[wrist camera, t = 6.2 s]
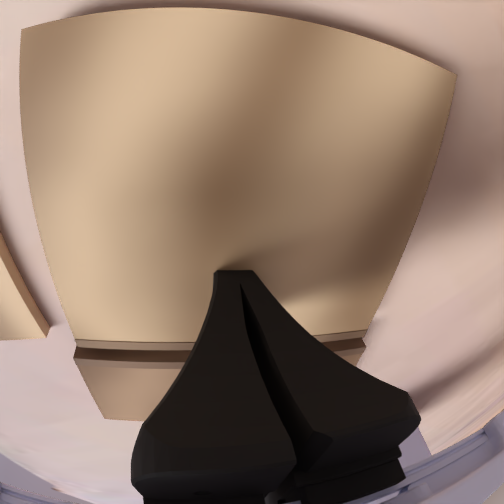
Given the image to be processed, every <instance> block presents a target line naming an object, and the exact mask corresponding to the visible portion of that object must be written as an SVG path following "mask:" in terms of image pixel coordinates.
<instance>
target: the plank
mask: <svg viewBox="0 0 504 504" xmlns="http://www.w3.org/2000/svg"><path fill="white" fill-rule="evenodd" d="M49 329H50V327H49V325H48V323H47V322H46V320H45V318H44V317H43V315H42V313H41V312H40V310H39V308H38V307H37V305H36V303H35V301H34V300H33V298H32V296H31V294H30V292H29V290H28V289H27V287H26V285H25V283H24V281H23V279H22V277H21V275H20V273H19V271H18V269H17V267H16V265H15V263H14V261H13V259H12V257H11V255H10V252H9V250H8V248H7V246H6V243H5V241H4V239H3V237H2V234H1V232H0V341H1V340H21V339H37V338H46V337H47V335H48V332H49Z"/></svg>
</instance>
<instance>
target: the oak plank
mask: <svg viewBox="0 0 504 504" xmlns="http://www.w3.org/2000/svg"><path fill="white" fill-rule="evenodd" d="M456 79H457V75H456V74H454V73H452V72H450V71H448V70H446V69H444V68H442V67H440V66H438V65H436V64H433V63H431V62H429V61H427V60H425V59H422V58H420V57H418V56H415V55H413V54H410V53H408V52H405V51H403V50H400V49H398V48H395V47H393V46H390V45H387V44H384V43H382V42H379V41H376V40H373V39H370V38H367V37H364V36H360V35H357V34H354V33H351V32H347V31H344V30H340V29H336V28H333V27H329V26H325V25H321V24H316V23H312V22H307V21H303V20H298V19H293V18H287V17H282V16H276V15H269V14H263V13H255V12H247V11H238V10H227V9H212V8H143V9H129V10H118V11H109V12H102V13H94V14H88V15H82V16H76V17H71V18H66V19H61V20H56V21H52V22H47V23H43V24H39V25H36V26H32V27H28V28H25V29H22V31H21V44H20V75H19V80H20V112H21V126H22V137H23V146H24V155H25V162H26V169H27V175H28V182H29V187H30V193H31V198H32V203H33V208H34V212H35V217H36V221H37V226H38V230H39V234H40V238H41V241H42V245H43V249H44V252H45V256H46V259H47V263H48V266H49V269H50V273H51V276H52V279H53V282H54V285H55V288H56V291H57V294H58V297H59V300H60V302H61V305H62V308H63V310H64V313H65V316H66V318H67V321H68V323H69V326H70V328H71V331H72V333H73V336H74V338H75V342H76V344H77V346H78V347H85V348H101V349H123V350H192V348H193V346H194V344H195V342H196V340H197V338H198V335H199V333H200V330H201V328H202V325H203V322H204V320H205V317H206V314H207V311H208V308H209V304H210V300H211V297H212V292H213V273H214V272H215V271H217V270H253V271H254V272H255V273H256V274H257V276H258V277H259V278H260V280H261V281H262V282H263V283H264V285H265V286H266V287H267V288H268V290H269V291H270V292H271V293H272V295H273V296H274V297H275V298H276V299H277V300H278V302H279V303H280V304H281V305H282V306H283V307H284V308H285V309H286V311H287V312H288V313H289V314H290V315H291V316H292V317H293V318H294V319H295V320H296V321H297V322H298V323H299V324H300V325H301V326H302V327H303V328H304V329H305V330H306V331H308V332H309V333H310V334H311V335H312V336H313V337H315V338H316V339H317V340H318V341H320V342H328V341H337V340H345V339H352V338H360V337H364V336H365V334H366V332H367V329H368V327H369V325H370V323H371V321H372V319H373V317H374V315H375V313H376V311H377V309H378V307H379V305H380V303H381V301H382V299H383V297H384V295H385V292H386V290H387V288H388V286H389V284H390V282H391V280H392V277H393V275H394V273H395V271H396V268H397V266H398V264H399V261H400V259H401V257H402V254H403V252H404V250H405V247H406V245H407V242H408V240H409V237H410V235H411V232H412V230H413V227H414V225H415V222H416V219H417V217H418V214H419V211H420V208H421V206H422V203H423V200H424V197H425V194H426V191H427V188H428V185H429V182H430V179H431V176H432V173H433V170H434V167H435V163H436V160H437V157H438V153H439V150H440V146H441V143H442V139H443V135H444V132H445V128H446V124H447V120H448V116H449V112H450V107H451V103H452V98H453V94H454V89H455V84H456Z"/></svg>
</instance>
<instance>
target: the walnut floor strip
mask: <svg viewBox="0 0 504 504" xmlns="http://www.w3.org/2000/svg"><path fill="white" fill-rule="evenodd" d="M321 343H322V344H323V345H324V346H326V347H327V348H328V349H330V350H331V351H333V352H334V353H335V354H337V355H338V356H340V357H341V358H343V359H344V360H346V361H347V362H349V363H350V364H352V365H354V366H356V364H357V362H358V361H359V359H360V357H361V355H362V353H363V352H364V350H365V349H366V346H365V344H364V342H363V340H362V338H361V337H360V338H352V339H345V340H337V341H328V342H321ZM190 352H191V350H123V349H101V348H85V347H78V346H76V350H75V354H74V357H73V359H74V361H75V363H76V365H77V366H78V369H79V371H80V373H81V375H82V377H83V379H84V381H85V383H86V385H87V387H88V389H89V391H90V393H91V395H92V397H93V399H94V400H95V402H96V404H97V406H98V408H99V410H100V411H101V413H102V415H103V417H104V418H105V419H113V420H128V421H145V420H146V419H147V418H148V416H149V415H150V414H151V413H152V411H153V410H154V409H155V408H156V406H157V405H158V404H159V402H160V401H161V400H162V398H163V397H164V396H165V394H166V393H167V391H168V389H169V388H170V386H171V385H172V383H173V382H174V380H175V379H176V377H177V376H178V374H179V372H180V371H181V369H182V367H183V366H184V364H185V362H186V360H187V358H188V356H189V354H190Z"/></svg>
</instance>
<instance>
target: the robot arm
mask: <svg viewBox="0 0 504 504" xmlns="http://www.w3.org/2000/svg"><path fill="white" fill-rule="evenodd" d="M420 421H421V417H420V415H419V413H418V411H417V409H416V407H415V405H414V403H413V401H412V399H411V398H410V396H409V394H408V393H407V392H406V391H404V390H401V389H399V388H397V387H395V386H392V385H390V384H388V383H386V382H383V381H381V380H379V379H377V378H375V377H373V376H371V375H370V374H368V373H366V372H364V371H362V370H360V369H359V368H357V367H355V366H354V365H352V364H350V363H349V362H347V361H346V360H344V359H343V358H341V357H340V356H338V355H337V354H335V353H334V352H333V351H331V350H330V349H328V348H327V347H326V346H324V345H323V344H322V343H321V342H320V341H318V340H317V339H316V338H315V337H313V336H312V335H311V334H310V333H309V332H308V331H306V330H305V329H304V328H303V327H302V326H301V325H300V324H299V323H298V322H297V321H296V320H295V319H294V318H293V317H292V316H291V315H290V314H289V313H288V312H287V311H286V309H285V308H284V307H283V306H282V305H281V304H280V303H279V302H278V300H277V299H276V298H275V297H274V296H273V295H272V293H271V292H270V291H269V290H268V288H267V287H266V286H265V285H264V283H263V282H262V281H261V280H260V278H259V277H258V276H257V274H256V273H255V272H254V271H253V270H217V271H215V272H214V273H213V292H212V297H211V300H210V304H209V308H208V311H207V314H206V317H205V320H204V322H203V325H202V328H201V330H200V333H199V335H198V338H197V340H196V342H195V344H194V346H193V348H192V350H191V352H190V354H189V356H188V358H187V360H186V362H185V364H184V366H183V367H182V369H181V371H180V372H179V374H178V376H177V377H176V379H175V380H174V382H173V383H172V385H171V386H170V388H169V389H168V391H167V393H166V394H165V396H164V397H163V398H162V400H161V401H160V402H159V404H158V405H157V406H156V408H155V409H154V410H153V411H152V413H151V414H150V415H149V416H148V418H147V419H146V420H145V421H144V423H143V424H142V426H141V429H140V431H139V434H138V437H137V440H136V443H135V446H134V449H133V453H132V459H131V483H132V485H133V486H134V487H135V489H136V490H137V491H138V492H139V493H140V494H141V495H142V496H143V501H144V504H482V503H483V502H484V501H485V500H486V499H487V498H488V497H489V496H490V495H492V494H493V493H494V492H495V491H496V490H497V489H498V488H499V487H500V486H501V485H502V483H504V410H503V411H502V412H500V413H499V414H497V415H496V416H495V417H494V418H492V419H491V420H490V421H489V422H488V423H487V424H486V425H485V426H484V427H483V428H482V429H480V430H479V431H477V432H475V433H473V434H472V435H470V436H468V437H467V438H465V439H463V440H461V441H459V442H458V443H456V444H454V445H452V446H450V447H448V448H446V449H444V450H442V451H440V452H438V453H436V454H434V455H431V453H430V451H429V449H428V447H427V444H426V442H425V440H424V438H423V436H422V434H421V432H420V430H419V428H418V426H419V424H420ZM0 504H78V503H73V502H68V501H63V500H59V499H55V498H51V497H47V496H43V495H39V494H36V493H32V492H28V491H26V490H22V489H19V488H16V487H13V486H10V485H7V484H4V483H1V482H0Z"/></svg>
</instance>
